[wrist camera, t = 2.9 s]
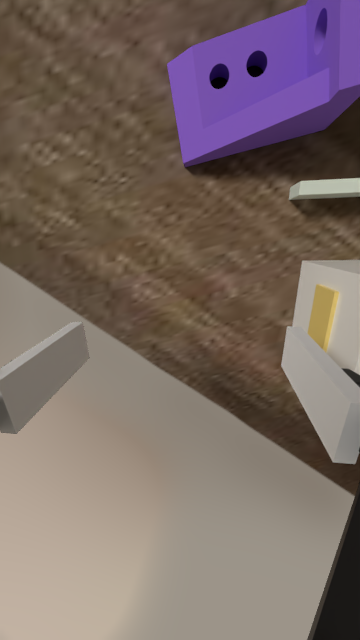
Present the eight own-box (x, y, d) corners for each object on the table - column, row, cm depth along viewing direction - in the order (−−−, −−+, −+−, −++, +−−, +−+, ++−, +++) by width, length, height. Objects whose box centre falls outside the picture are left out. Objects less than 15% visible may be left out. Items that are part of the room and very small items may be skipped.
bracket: (322, 24, 17) (389, -103, 11) (322, 131, 19) (378, 78, 13) (170, 77, 19) (150, -3, 13) (185, 168, 22) (174, 138, 15)
